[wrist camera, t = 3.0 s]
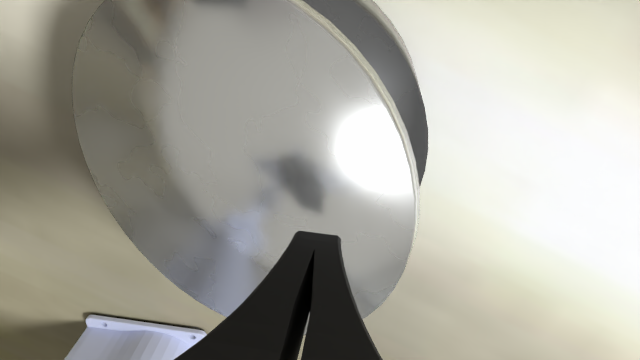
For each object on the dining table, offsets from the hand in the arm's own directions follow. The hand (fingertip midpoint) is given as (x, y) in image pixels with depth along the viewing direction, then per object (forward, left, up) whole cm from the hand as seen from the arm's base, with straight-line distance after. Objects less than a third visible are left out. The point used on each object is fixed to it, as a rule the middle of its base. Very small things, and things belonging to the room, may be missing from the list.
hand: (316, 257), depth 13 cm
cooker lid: (-4, +2, -4) cm, 6 cm away
